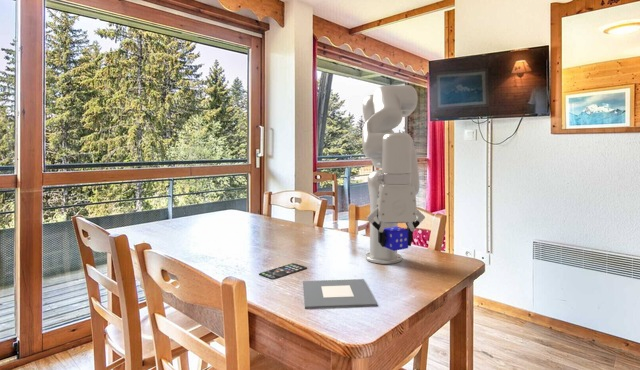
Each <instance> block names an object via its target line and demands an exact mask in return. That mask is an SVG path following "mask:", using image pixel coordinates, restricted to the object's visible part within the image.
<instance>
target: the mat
mask: <svg viewBox="0 0 640 370" xmlns="http://www.w3.org/2000/svg"><path fill="white" fill-rule="evenodd" d="M302 285H303V286H302V287H303V298H304V299H303V301H304V309H325V308H326V309H327V308H328V309H330V308H351V307H352V308H354V307H355V308H356V307H358V308H359V307H376V306H378V302H377V301H376V299H375V297H374V296H373V293H372V291H371V290H370V288H369V286H368V284H367V282H366V280H365V279H364V278H359V279H358V278H357V279H331V280H330V279H326V280H304V281H303V280H302Z"/></svg>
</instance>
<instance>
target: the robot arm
mask: <svg viewBox="0 0 640 370" xmlns="http://www.w3.org/2000/svg"><path fill="white" fill-rule="evenodd" d="M418 98H419V97H418V92H417V89H415V87H414V86H412V85H410V84H397V85H389V84H388V85H382V86H379V87H377V88H376V89H375V91H374V92H373V94H370V95H367V96H366V97H365V98H364V99H363V100H362V101H363V102H362V113H363V118H364V122H365V123H364V124H363V128H362V132H361V141H362V143H361V144H362V153H363V154H364V156H365V158H366V159H369V160H370V161H371V164H372V166H373V167H374V168H377V169H376V170H373V171H371V172H370V173H369V174H368V177H367V188H368V194H369V214H368V215H367V216H366V220H367V221H368V222H369V252H368V253H366V254H365V260H367V261H368V262H371V263H374V264H381V265H389V264H390V265H391V264H397V263H400V262H401V261H402V259H403V258H402V255H401V254H400V253H398V250H396V251H393V250H391V249H388V248H386V247H384V246H385V232H384V228H391V227H399V225H398V224H405V226H406V230H408V231H409V233H408V247H412V243H413V241H414V232H415V231H416V229H417V228H418V227H419V225H421V223H422V222H423V221H424V220H425V218H426V217H425V215H424V214H423V213H422V212H421V211H419V210H418V209H417V198H416V197H417V195H418V194H419V191H420V176H419V175H420V174H419V173H420V171H419V164H418V156H417V155H418V154H417V149H416V147H415V145H414V139H413V138H412V137H411V134H410V133H407V132H394V129H396V128H397V127H398V126H399V125H400V124H401V123H402V120H403V118H406V117H410V116H411V114H412V113H413V112H415V110H416V108H417V107H418V106H417V105H418Z"/></svg>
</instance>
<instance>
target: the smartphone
mask: <svg viewBox="0 0 640 370" xmlns="http://www.w3.org/2000/svg"><path fill="white" fill-rule="evenodd" d="M307 269H308V268H307V266H304V265H300V264H298V263H294V262H291V263H289V264H285V265H282V266H278V267H275V268H272V269H269V270H265V271H262V272H260V273H258V276H260V277H263V278H266V279H269V280H271V281H273V280H277V279H280V278H283V277H286V276H289V275H293V274H295V273H298V272H301V271H305V270H307Z"/></svg>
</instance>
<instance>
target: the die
mask: <svg viewBox="0 0 640 370" xmlns="http://www.w3.org/2000/svg"><path fill="white" fill-rule="evenodd" d="M406 229H407V228H406ZM406 229H405V228H402V227H400V226H398V227H391V228H384V232H385V246H384V247H386V248H388V249H391V250H393V251H396V250H397V251H400V250H406V249H409V246H408V233H409V231H408V230H406Z"/></svg>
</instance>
